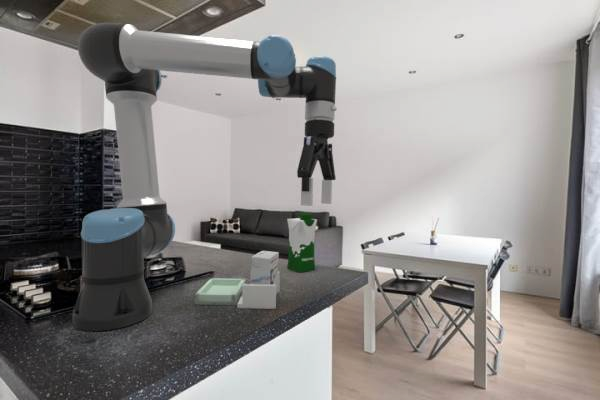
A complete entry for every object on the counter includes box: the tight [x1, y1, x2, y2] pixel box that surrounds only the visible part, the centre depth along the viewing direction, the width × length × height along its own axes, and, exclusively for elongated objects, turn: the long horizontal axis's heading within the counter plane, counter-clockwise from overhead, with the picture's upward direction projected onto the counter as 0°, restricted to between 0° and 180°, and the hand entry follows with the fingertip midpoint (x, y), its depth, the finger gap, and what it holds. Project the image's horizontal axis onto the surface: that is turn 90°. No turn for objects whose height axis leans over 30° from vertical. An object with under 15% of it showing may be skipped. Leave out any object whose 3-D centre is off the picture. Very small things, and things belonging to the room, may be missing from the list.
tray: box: [194, 277, 246, 306], centre depth 85 cm, size 10×14×2 cm
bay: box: [236, 270, 281, 310], centre depth 83 cm, size 9×13×6 cm
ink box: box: [250, 250, 280, 295], centre depth 84 cm, size 9×5×12 cm, turn 168°
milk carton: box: [286, 212, 318, 274], centre depth 114 cm, size 9×9×20 cm
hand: (317, 204), depth 83 cm, fingers open, 13 cm apart
